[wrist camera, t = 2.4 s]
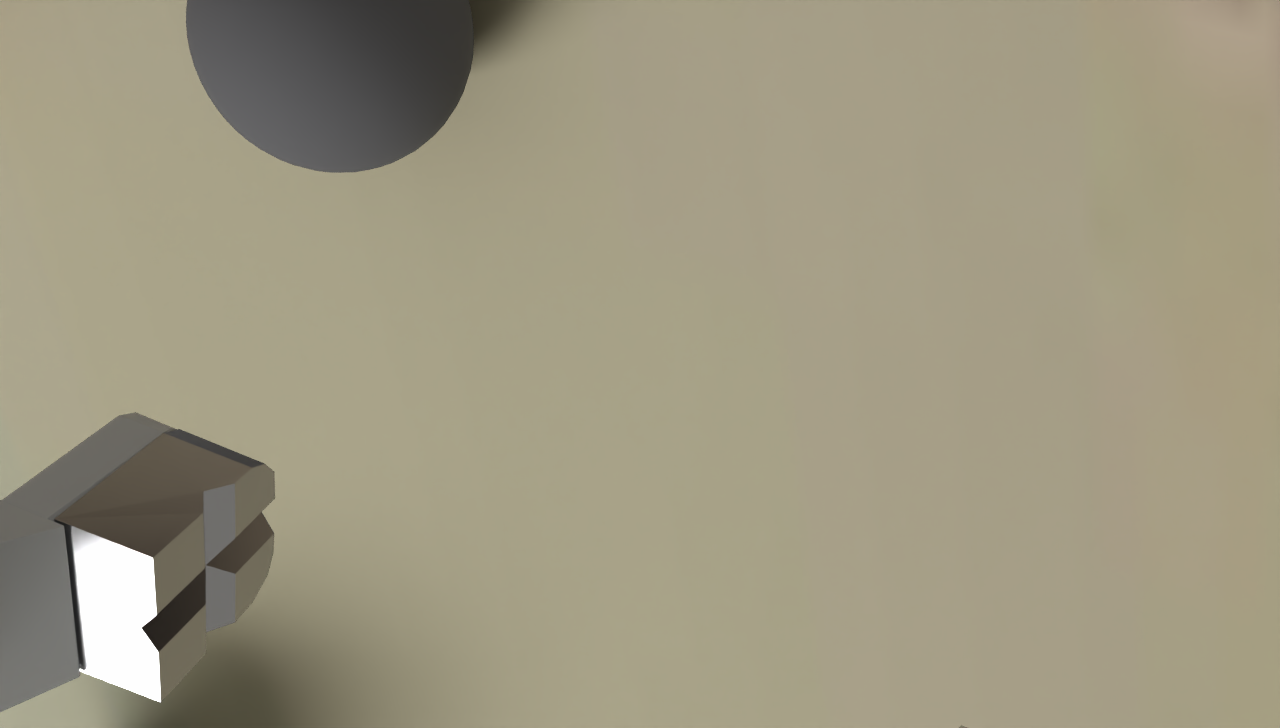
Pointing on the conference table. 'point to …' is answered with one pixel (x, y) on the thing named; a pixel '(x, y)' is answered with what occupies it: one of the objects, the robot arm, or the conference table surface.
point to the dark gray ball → (333, 74)
